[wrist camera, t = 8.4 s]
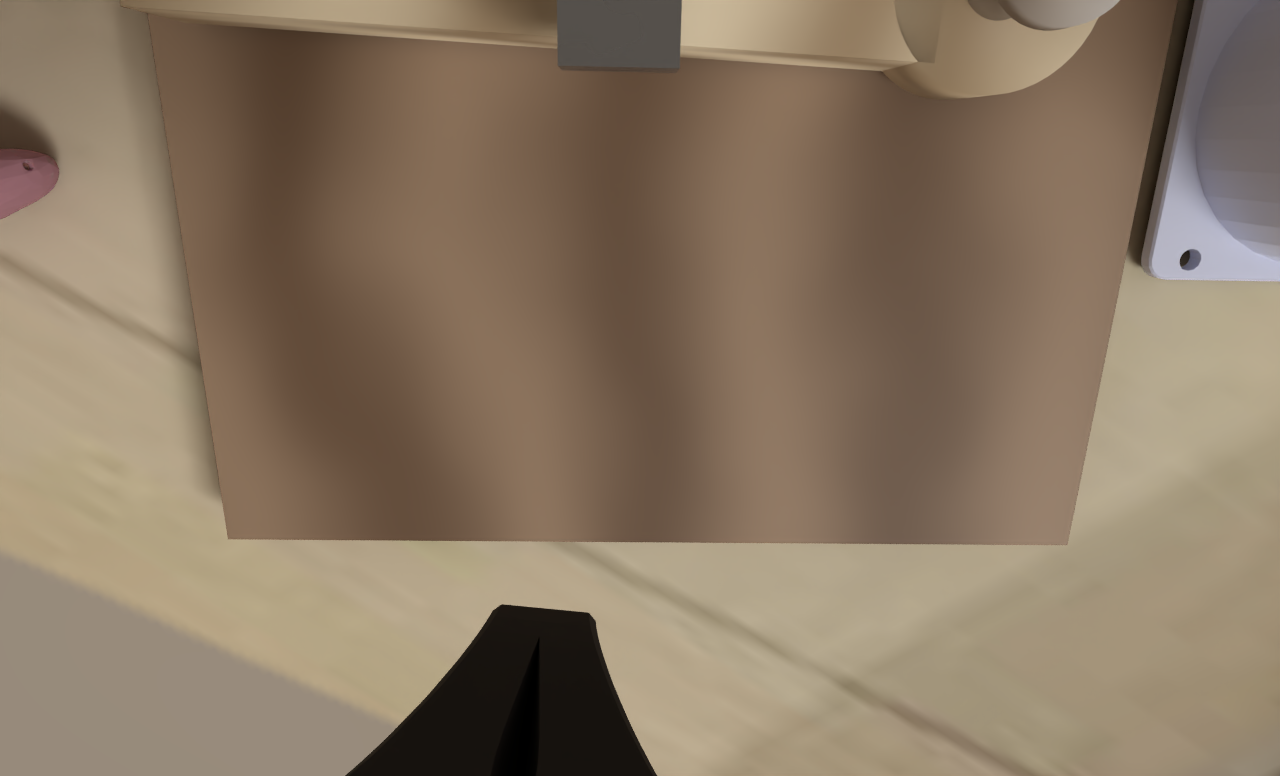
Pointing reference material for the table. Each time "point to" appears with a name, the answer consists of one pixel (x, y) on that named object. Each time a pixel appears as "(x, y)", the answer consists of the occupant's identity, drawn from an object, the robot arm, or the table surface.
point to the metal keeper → (619, 35)
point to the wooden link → (736, 32)
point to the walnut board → (648, 288)
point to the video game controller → (24, 178)
